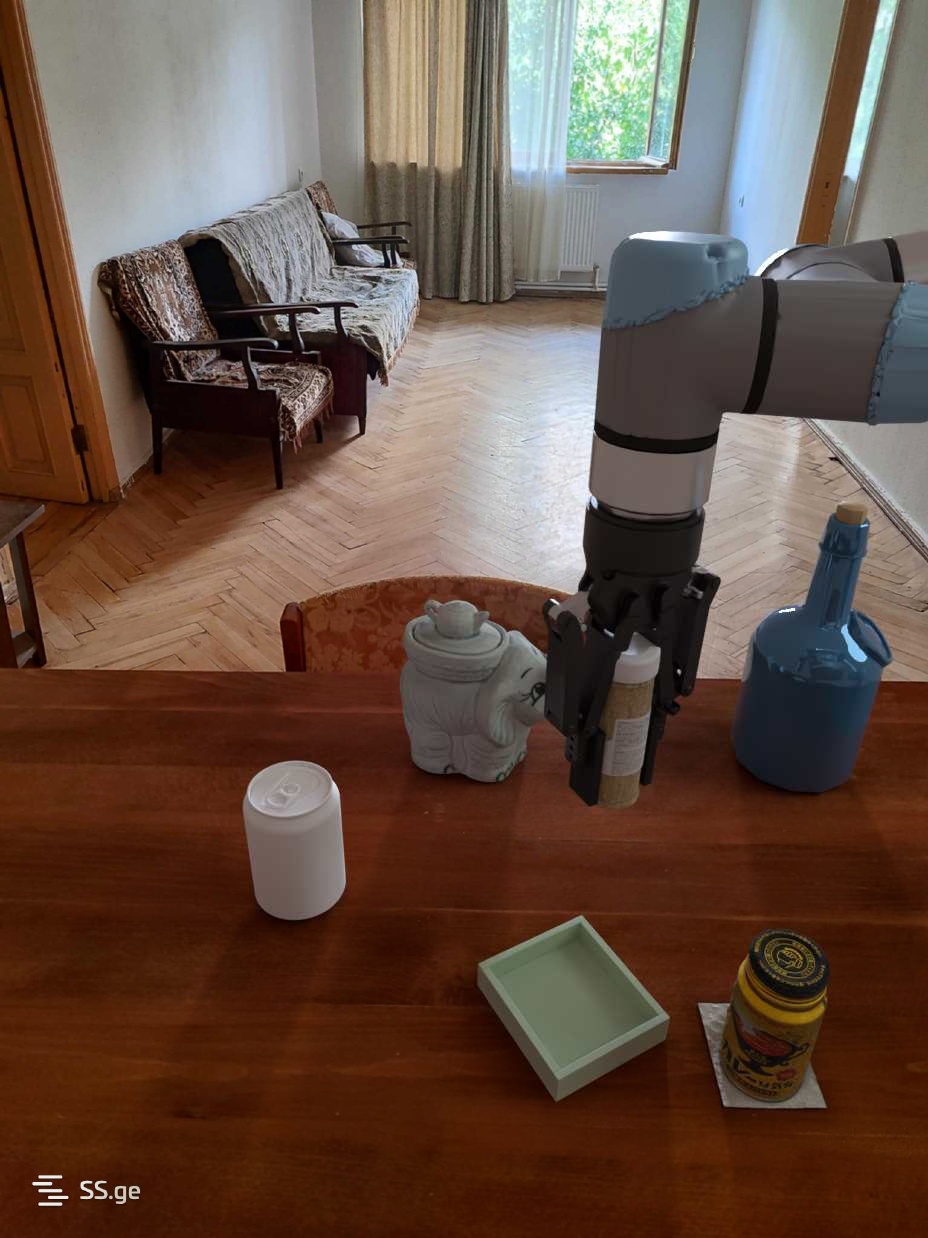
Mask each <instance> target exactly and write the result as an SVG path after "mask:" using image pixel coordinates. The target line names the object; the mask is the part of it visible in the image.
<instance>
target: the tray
mask: <svg viewBox="0 0 928 1238" xmlns="http://www.w3.org/2000/svg"><path fill="white" fill-rule="evenodd" d="M476 983H477V984H476V985H477V987H478V988H479V990H480V991H481V993H482V994H483V996H484V998H485V999H486V1000H487V1002H488V1004H489V1005H490V1006H491V1008H492V1009H493V1010H494V1012H495V1013H496V1015H497V1017H498V1018H499V1020H500V1021H501V1023H502V1024H503V1026H504V1027H505V1029H506V1031H508V1033H509V1034H510V1036H511V1038H512V1039H513V1041H514V1042H515V1043H516V1045H517V1047H518V1048H519V1050H520V1051H521V1052H522V1054H523V1056H524V1057H525V1059H526V1060H527V1062H528V1063H529V1064H530V1066H531V1068H532V1069H533V1070H534V1072H535V1073H536V1075H537V1076H538V1078H539V1080H540V1081H541V1082H542V1084H543V1085H544V1087H545V1088H546V1090H547V1091H548V1092H549V1094H550V1096H551V1097H552V1099H553V1100H554V1102H555V1103H557V1102H559V1101H561V1100H563V1099H565V1098H566V1097H568V1096H569V1095H571V1094H573V1093H575V1092H576V1091H578V1090H580V1089H581V1088H583V1087H585V1086H587V1085H589V1084H590V1083H592V1082H594V1081H596V1080H597V1079H599V1078H601V1077H602V1076H604V1075H606V1074H608V1073H610V1072H612V1071H613V1070H615V1069H617V1068H618V1067H621V1066H622V1065H623V1064H625V1063H627V1062H629V1061H631V1060H632V1059H634V1058H636V1057H638V1056H639V1055H641V1054H643V1053H645V1052H647V1051H648V1050H650V1049H651V1048H653V1047H655V1046H657V1045H659V1044H660V1043H662V1042H664V1041H665V1040H666V1039H667V1034H668V1029H669V1024H670V1020H671V1017H670V1016H669V1014H667V1012H666V1011H665V1010H664V1009H663V1008H662V1007H661V1005H660V1004H659V1003H658V1002H657V1001H656V999H655V998H654V997H653V996H652V995H651V994H650V993H649V991H648V990H647V989H646V988H645V987H644V986H643V984H641V982H640V981H639V980H638V978H637V977H636V976H635V975H634V974H633V973H632V972H631V971H630V970H629V968H628V967H627V966H626V965H625V963H624V962H623V961H622V960H621V959H620V958H619V957H618V956H617V955H616V953H615V952H614V950H612V948H611V947H610V946H609V945H608V944H607V943H606V941H605V940H604V939H603V938H602V937H601V936H600V934H599V933H598V932H597V931H596V930H595V929H594V928H593V926H592V924H590V923H589V922H588V921H587V919H586V918H585V917H584V916H583V915H582V914H581V915H579V916H576V917H575V918H572V919H570V920H569V921H566V922H564V923H562V924H560V925H558V926H556V927H554V928H551V929H549V930H546V931H545V932H543V933H541V934H539V935H537V936H534V937H532V938H530V939H527V940H526V941H523V942H521V943H519V944H517V945H515V946H513V947H511V948H508V949H506V950H504V951H502V952H500V953H498V954H496V955H494V956H492V957H490V958H487V959H485V960H483V961H481V962H478V964H477V981H476Z"/></svg>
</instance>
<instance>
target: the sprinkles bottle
mask: <svg viewBox="0 0 928 1238" xmlns="http://www.w3.org/2000/svg"><path fill="white" fill-rule="evenodd" d="M660 653H661V651H660V648H659V647H657V646H656V645H654V644H653V643H652V642H650V641H649V640H648V639H646V638H645V637H643V636H642V635H641V634H639V633H638V632H635V633H633V636H632V639H631V642H630V645H629V648H628V650H627V651H626V652H622V653H621V656H620V659H618V660H617V662H616V666H615V673H614V678H613V681H612V684H611V687H610V691H609V694H608V697H607V700H606V703H605V707H604V710H603V713H602V716H601V719H600V722H599V726H598V727H599V728H600V729H601V730H602V731H604V732H605V733H606V739H605V747H604V755H603V763H602V772H601V780H600V788H599V796H598V804H596V805H594V806H595V807H598V808H600V809H605V810H622V809H626V808H629V807H631V806H633V805H634V804H635V803H636V802H637V801H638V799H639V796H640V787H639V784H640V783H639V779H640V772H641V767H642V765H643V759H644V753H645V746H646V740H647V733H648V727H649V720H650V713H651V700H652V692H653V686H654V679H655V676H656V674H657V673H658V669H659V663H660Z"/></svg>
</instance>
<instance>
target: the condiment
mask: <svg viewBox="0 0 928 1238" xmlns="http://www.w3.org/2000/svg"><path fill="white" fill-rule="evenodd" d="M747 952H748V954H747V955H746V958H745V959H744V960H743V961H742V963H741V964H740V965H739V967H738V970H737V972H736V973H737V974H736V977H735V981H734V983H733V985H732V994H731V996H730V999H729V1003H711V1002H698V1003H697V1005H698V1009H699V1012H700V1017H701V1020H702V1024H703V1029H704V1031H705V1032H704V1033H705V1036H706V1040H707V1044H708V1049H709V1053H710V1057H711V1061H712V1065H713V1068H714V1074H715V1077H716V1081H717V1085H718V1088H719V1093H720V1098H721V1101H722V1103H723V1106H724V1107H725V1108H726V1107H727V1108H750V1109H805V1108H807V1109H809V1108H810V1109H815V1108H817V1109H827V1108H828V1107H827V1105H826V1102H825V1098H824V1096H823V1093H822V1091H821V1089H820V1086H819V1084H818V1080H817V1077H816V1074H815V1071H814V1069H813V1066H812V1062H811V1057H812V1053H813V1051H814V1047H815V1044H816V1042H817V1039H818V1035H819V1032H820V1029H821V1025H822V1022H823V1019H824V1017H825V1013H826V1010H827V1007H828V994H827V989H828V987H827V986H828V983H829V980H830V977H831V970H830V962H829V960H828V958H827V956H826V953H825V952H824V950H823V949H822V947H820V945H819V944H818V943H816V942H815V940H813V939H811V938H809V937H808V936H806V935H804V934H801V933H799V932H797V931H795V930H791V929H785V928H772V929H771V928H770V929H765V930H763V931H762V932H760V933H759V934H757V935H755V936H754V937H753V939H752V942H751V943H750V944H749V948H748V951H747Z"/></svg>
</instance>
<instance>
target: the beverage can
mask: <svg viewBox="0 0 928 1238" xmlns="http://www.w3.org/2000/svg"><path fill="white" fill-rule="evenodd" d="M242 814H243V821H244V828H245V835H246V841H247V849H248V854H249V856H248V857H249V861H250V869H251V876H252V881H253V882H252V883H253V890H254V896H255V899H256V902H257V903H258V906H259V907H260V908H261V909H262V910H264V912H265V913H267V914H269V915H271V916H273V917H274V918H277V919H281V920H286V921H301V920H307V919H311V918H315V917H317V916H319V915H321V914H323V913H325V912H327V911H328V910H330V909H331V908H332V907H333V906H334V905H335V904H336V903H337V902H339V900H340V899H341V897H342V895H343V893H344V891H345V888H346V882H347V880H346V878H347V877H346V865H345V863H346V861H345V850H344V837H343V836H344V835H343V822H342V809H341V795H340V791H339V789H338V786H337V784H336V782H335V781H334V780H333V778H332V776H331V774H330V773H329V772H328V770H327V769H325V768H324V767H322V766H320V765H319V764H316V763H313V762H310V761H304V760H289V761H282V762H278V763H275V764H272V765H270V766H268V767H266V768H264V769H262V770H261V771H259V772H258V773H257V774H256V775H254V776H253V778H252V779H251V780H250V781H249V783H248V786H247V789H246V793H245V795H244V798H243V801H242Z"/></svg>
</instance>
